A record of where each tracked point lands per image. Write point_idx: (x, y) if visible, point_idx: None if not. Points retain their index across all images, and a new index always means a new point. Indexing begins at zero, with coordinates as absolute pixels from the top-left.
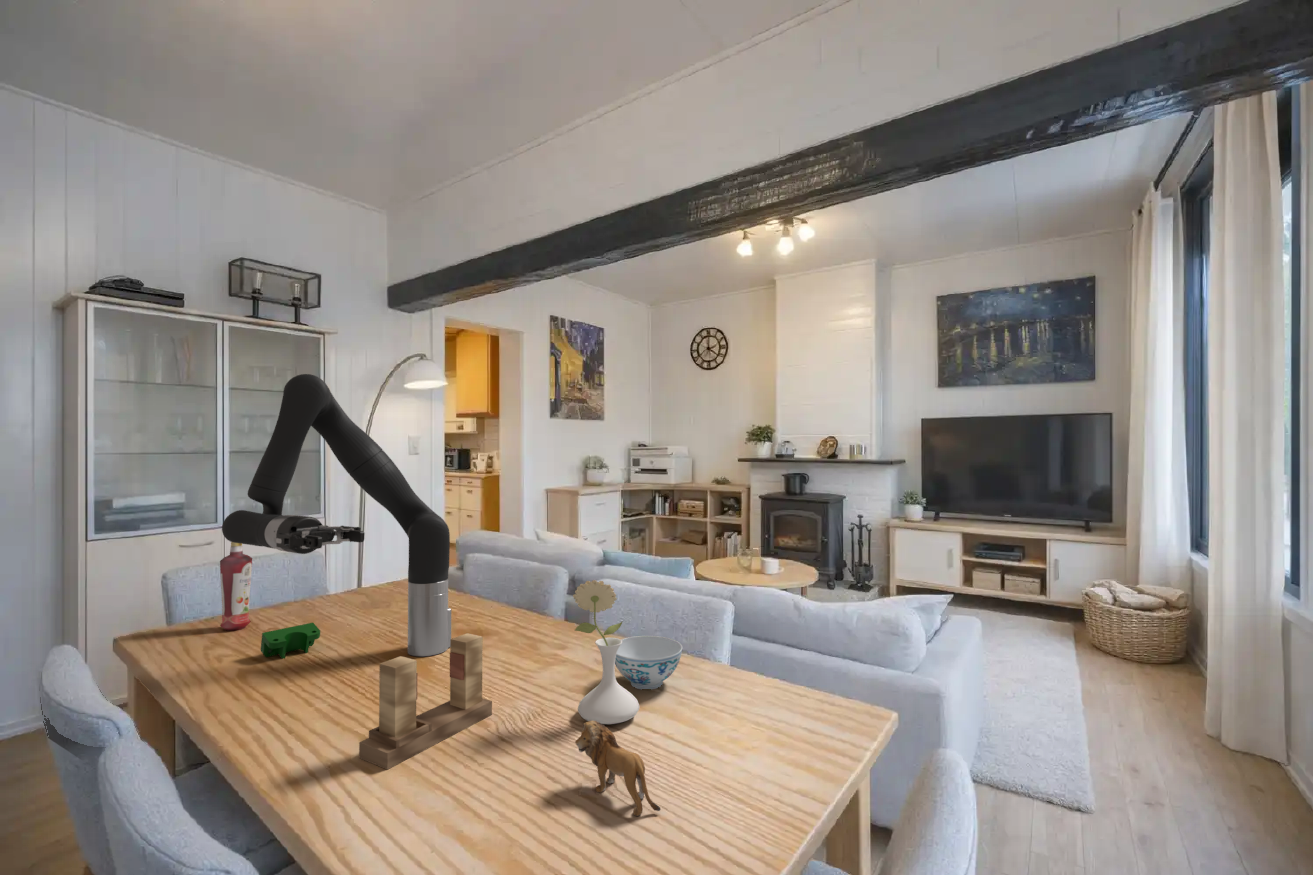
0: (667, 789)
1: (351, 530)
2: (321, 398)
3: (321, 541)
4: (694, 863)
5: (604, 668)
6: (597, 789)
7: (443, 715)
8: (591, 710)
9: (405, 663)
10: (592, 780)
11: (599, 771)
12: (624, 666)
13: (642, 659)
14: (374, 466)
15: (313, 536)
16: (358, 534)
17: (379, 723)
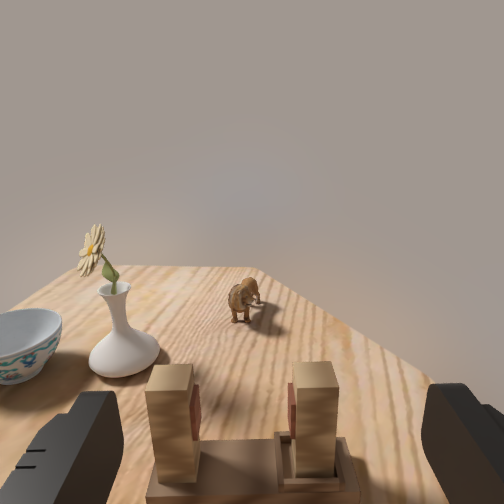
0: (224, 302)
1: (54, 499)
2: None
3: (428, 405)
4: (276, 281)
5: (125, 314)
6: (250, 320)
7: (231, 462)
8: (153, 347)
9: (311, 364)
10: (239, 328)
11: (249, 307)
12: (53, 345)
13: (61, 320)
14: None
15: (495, 425)
16: (107, 425)
17: (333, 463)
